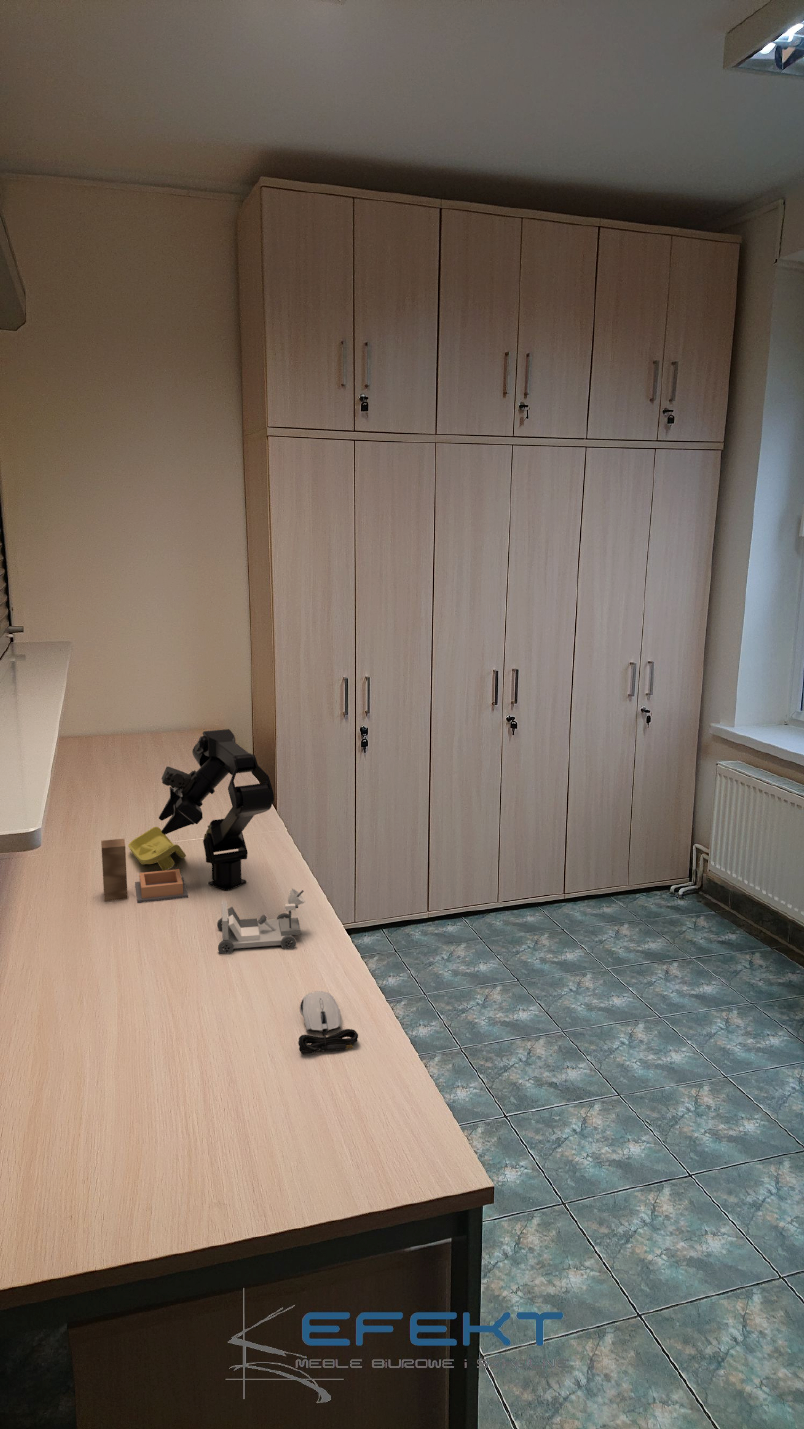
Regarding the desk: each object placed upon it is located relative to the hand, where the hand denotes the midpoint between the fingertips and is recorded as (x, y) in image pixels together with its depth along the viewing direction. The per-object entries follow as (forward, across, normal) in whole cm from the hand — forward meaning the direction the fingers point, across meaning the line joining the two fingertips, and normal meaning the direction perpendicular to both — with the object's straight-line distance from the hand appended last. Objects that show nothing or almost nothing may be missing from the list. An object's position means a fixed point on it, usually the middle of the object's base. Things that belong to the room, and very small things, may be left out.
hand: (161, 826), depth 218 cm
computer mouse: (-7, +74, +23) cm, 77 cm away
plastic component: (+10, -11, +9) cm, 18 cm away
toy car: (-3, +38, +21) cm, 43 cm away
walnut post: (+17, +8, +1) cm, 19 cm away
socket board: (+10, +8, +8) cm, 15 cm away
